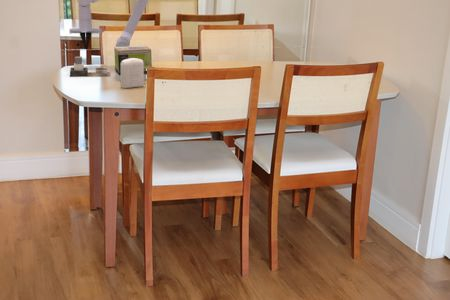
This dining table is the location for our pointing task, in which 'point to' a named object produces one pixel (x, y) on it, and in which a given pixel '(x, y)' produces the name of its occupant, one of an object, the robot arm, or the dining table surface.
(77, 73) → the panel
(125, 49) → the tea box
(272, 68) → the dining table surface
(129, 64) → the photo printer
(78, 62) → the plug
